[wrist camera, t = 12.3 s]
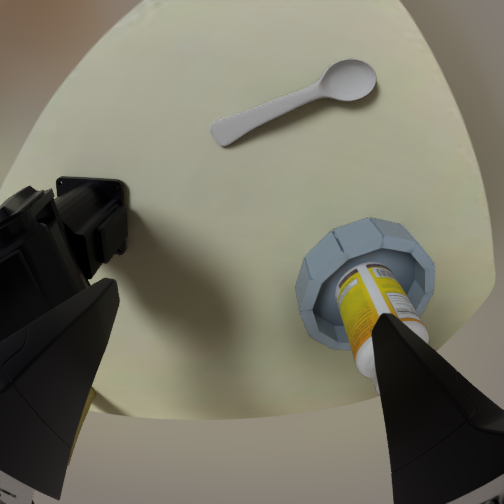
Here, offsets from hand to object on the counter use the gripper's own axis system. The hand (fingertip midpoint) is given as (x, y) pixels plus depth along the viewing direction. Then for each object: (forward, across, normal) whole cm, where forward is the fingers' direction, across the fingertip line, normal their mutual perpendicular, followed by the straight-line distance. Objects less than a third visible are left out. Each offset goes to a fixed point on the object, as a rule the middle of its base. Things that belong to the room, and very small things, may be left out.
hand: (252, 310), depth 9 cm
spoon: (+14, -2, -6) cm, 15 cm away
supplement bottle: (+12, -11, +7) cm, 18 cm away
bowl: (+13, -11, +7) cm, 18 cm away
